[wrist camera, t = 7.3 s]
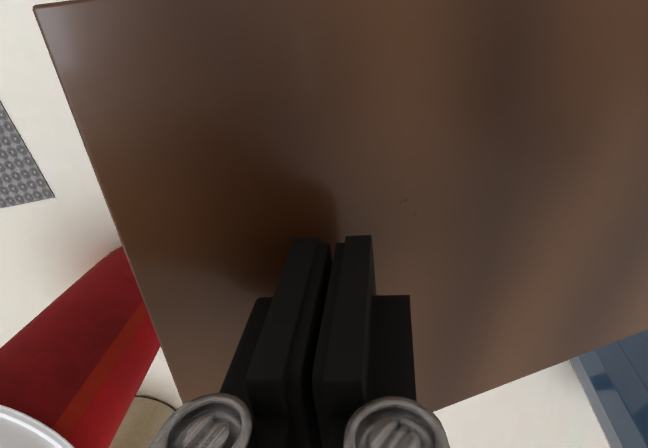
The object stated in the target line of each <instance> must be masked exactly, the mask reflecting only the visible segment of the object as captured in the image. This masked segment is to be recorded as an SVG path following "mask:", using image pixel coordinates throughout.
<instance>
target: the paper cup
mask: <svg viewBox="0 0 648 448" xmlns="http://www.w3.org/2000/svg"><path fill="white" fill-rule="evenodd" d="M160 346H161V345H160V343H159V340H158V337H157V335H156V332H155V329H154V327H153V324H152V322H151V319H150V316H149V314H148V311H147V308H146V306H145V303H144V301H143V298H142V295H141V293H140V290H139V287H138V285H137V282H136V280H135V277H134V274H133V272H132V269H131V266H130V264H129V261H128V259H127V256H126V253H125V251H124V248H123V247H120V248H118V249H116V250H114V251H113V252H111V253H110V254H108V255H107V256H106V257H105V258H103V259H102V260H101V261H100V262H99V263H97V264H96V265H95V266H94V267H93V268H91V269H90V270H89V271H88V272H87V273H86V274H84V275H83V276H82V277H81V278H80V279H79V280H78V281H76V282H75V283H74V284H73V285H72V286H71V287H69V288H68V289H67V290H66V291H65V292H64V293H63V294H62V295H60V296H59V297H58V298H57V299H56V300H55V301H54V302H52V303H51V304H50V305H49V306H48V307H47V308H46V309H44V310H43V311H42V312H41V313H40V314H39V315H38V316H36V317H35V318H34V319H33V320H32V321H31V322H30V323H29V324H27V325H26V326H25V327H24V328H23V329H22V330H21V331H19V332H18V333H17V334H16V335H15V336H14V337H13V338H12V339H10V340H9V341H8V342H7V343H6V344H5V345H4V346H2V347H1V348H0V448H109V446H110V444H111V442H112V441H113V439H114V437H115V435H116V433H117V431H118V429H119V427H120V425H121V423H122V421H123V419H124V417H125V415H126V413H127V411H128V409H129V407H130V405H131V403H132V401H133V399H134V397H135V395H136V393H137V391H138V389H139V387H140V386H141V384H142V382H143V380H144V378H145V376H146V374H147V372H148V370H149V368H150V366H151V364H152V362H153V360H154V358H155V356H156V354H157V352H158V350H159V348H160Z"/></svg>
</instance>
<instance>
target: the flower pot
mask: <svg viewBox="0 0 648 448" xmlns="http://www.w3.org/2000/svg"><path fill="white" fill-rule="evenodd" d="M173 412H174V410H173V409H172V408H171V407H169V406H167V405H166V404H163V403H161V402H159V401H156V400H152V399H148V398H142V397H134V399H133V401H132V403H131V405H130V407H129V409H128V411H127V413H126V415H125V417H124V419H123V421H122V423H121V425H120V427H119V429H118V431H117V433H116V435H115V437H114V439H113V441H112V442H111V444H110V446H109V448H148V447H149V446H150V444H151V443H152V441H153V440H154V438H155V437H156V435H157V434H158V432H159V430H160V429H161V427H162V426H163V424H164V423H165V422H166V421H167V419H168V418H169V417H170V416H171V415H172V414H173Z"/></svg>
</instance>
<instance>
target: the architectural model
mask: <svg viewBox="0 0 648 448" xmlns="http://www.w3.org/2000/svg"><path fill="white" fill-rule="evenodd" d="M49 198H54V196H53V194H52V192H51V190H50V189H49V187H48V185H47V183H46V182H45V180H44V178H43V176H42V175H41V173H40V171H39V169H38V168H37V166H36V164H35V162H34V161H33V159H32V157H31V155H30V154H29V152H28V150H27V148H26V147H25V145H24V143H23V141H22V140H21V138H20V136H19V134H18V133H17V131H16V129H15V127H14V126H13V124H12V122H11V120H10V119H9V117H8V115H7V113H6V112H5V110H4V108H3V106H2V105H1V103H0V208H4V207H9V206H14V205H19V204H24V203H29V202H34V201H39V200H44V199H49Z"/></svg>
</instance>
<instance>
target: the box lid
mask: <svg viewBox="0 0 648 448" xmlns="http://www.w3.org/2000/svg"><path fill="white" fill-rule="evenodd" d="M33 12H34V15H35V17H36V20H37V23H38V25H39V28H40V30H41V33H42V36H43V38H44V41H45V44H46V46H47V49H48V51H49V54H50V57H51V59H52V62H53V65H54V67H55V70H56V72H57V75H58V78H59V80H60V83H61V86H62V88H63V91H64V93H65V96H66V99H67V101H68V104H69V107H70V109H71V112H72V114H73V117H74V120H75V122H76V125H77V128H78V130H79V133H80V135H81V138H82V141H83V143H84V146H85V148H86V151H87V154H88V156H89V159H90V162H91V164H92V167H93V169H94V172H95V175H96V177H97V180H98V183H99V185H100V188H101V190H102V193H103V196H104V198H105V201H106V204H107V206H108V209H109V211H110V214H111V217H112V219H113V222H114V225H115V227H116V230H117V232H118V235H119V238H120V240H121V243H122V246H123V248H124V251H125V253H126V256H127V259H128V261H129V264H130V266H131V269H132V272H133V274H134V277H135V280H136V282H137V285H138V287H139V290H140V293H141V295H142V298H143V301H144V303H145V306H146V308H147V311H148V314H149V316H150V319H151V322H152V324H153V327H154V329H155V332H156V335H157V337H158V340H159V343H160V345H161V348H162V350H163V353H164V356H165V358H166V361H167V364H168V366H169V369H170V371H171V374H172V377H173V379H174V382H175V384H176V387H177V390H178V392H179V395H180V398H181V400H182V403H183V405H184V404H185V403H186V402H189V401H191V400H193V399H195V398H197V397H199V396H203V395H207V394H211V393H219V392H220V389H221V387H222V384H223V382H224V379H225V377H226V374H227V372H228V369H229V367H230V364H231V361H232V359H233V356H234V354H235V351H236V349H237V346H238V344H239V341H240V339H241V336H242V334H243V331H244V329H245V326H246V324H247V321H248V319H249V316H250V314H251V311H252V309H253V306H254V304H255V302H256V300H257V299H258V298H259V297H273V296H274V293H275V290H276V288H277V285H278V282H279V279H280V276H281V273H282V270H283V267H284V265H285V262H286V259H287V256H288V253H289V250H290V247H291V245H292V242H293V239H294V238H302V237H320V239H321V242H322V243H329V244H330V247H331V254H332V262H333V257H334V252H335V247H336V243H345V238H346V236H356V235H371V236H372V243H373V256H374V270H375V283H376V295H410V308H411V323H412V338H413V353H414V369H415V384H416V399H417V402H419V403H420V404H422V405H424V406H425V407H427V408H429V409H430V410H431V411H432V412H434V411H437V410H439V409H442V408H444V407H447V406H450V405H452V404H455V403H457V402H460V401H463V400H465V399H468V398H470V397H473V396H476V395H478V394H481V393H483V392H486V391H488V390H491V389H494V388H496V387H499V386H501V385H504V384H507V383H509V382H512V381H514V380H517V379H520V378H522V377H525V376H527V375H530V374H533V373H535V372H538V371H540V370H543V369H546V368H548V367H551V366H553V365H556V364H559V363H561V362H564V361H566V360H569V359H572V358H574V357H577V356H579V355H582V354H585V353H587V352H590V351H592V350H595V349H598V348H600V347H603V346H605V345H608V344H611V343H613V342H616V341H618V340H621V339H624V338H626V337H629V336H631V335H634V334H637V333H639V332H642V331H644V330H647V329H648V0H70V1H63V2H55V3H47V4H39V5H35V6H33Z"/></svg>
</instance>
